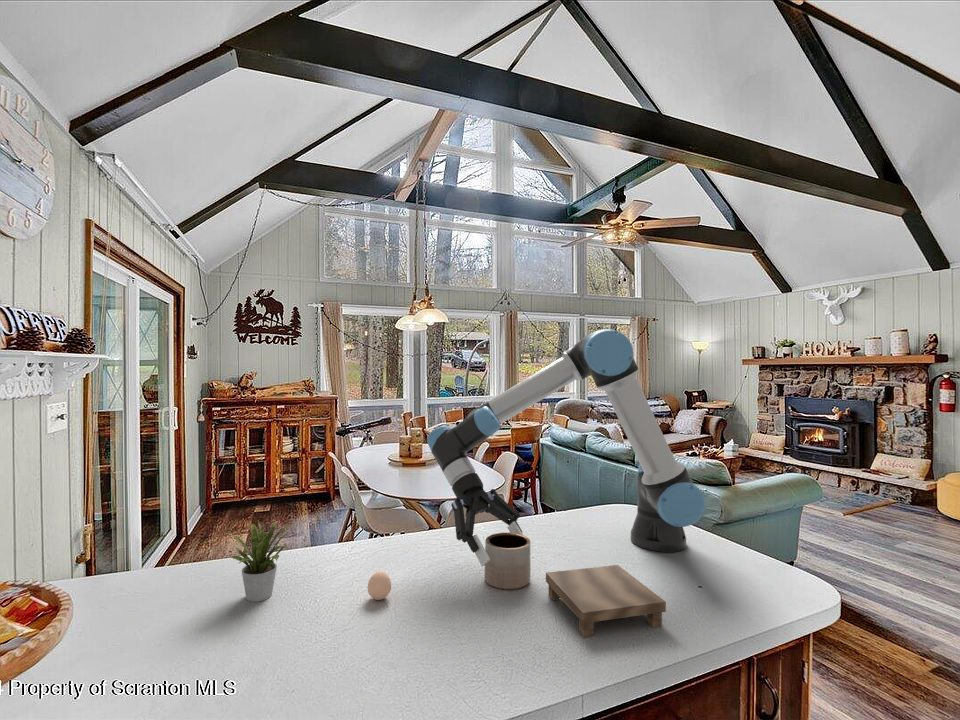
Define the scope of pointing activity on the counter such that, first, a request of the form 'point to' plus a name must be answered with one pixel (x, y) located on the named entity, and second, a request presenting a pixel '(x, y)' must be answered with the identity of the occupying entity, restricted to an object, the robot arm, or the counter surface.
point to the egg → (379, 585)
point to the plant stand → (604, 596)
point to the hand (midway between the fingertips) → (506, 555)
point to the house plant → (259, 563)
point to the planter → (507, 561)
